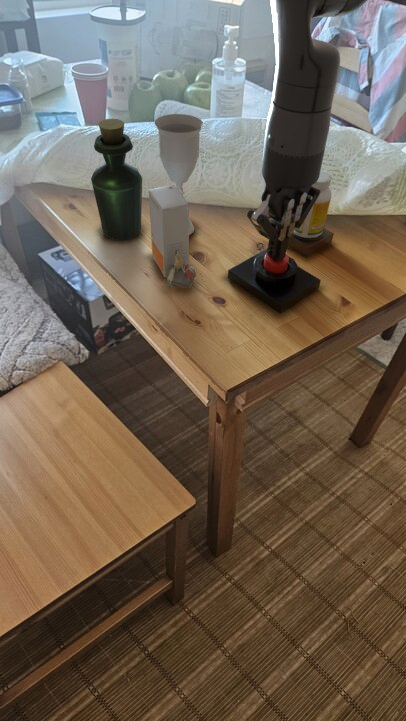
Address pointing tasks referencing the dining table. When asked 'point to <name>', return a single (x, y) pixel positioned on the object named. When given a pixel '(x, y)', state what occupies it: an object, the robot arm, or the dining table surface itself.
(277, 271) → the button
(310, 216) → the supplement bottle
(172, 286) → the figurine
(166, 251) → the cosmetic box
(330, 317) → the dining table surface
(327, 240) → the stand
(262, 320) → the dining table surface
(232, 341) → the dining table surface
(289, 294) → the button housing
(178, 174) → the chalice
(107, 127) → the potion bottle
